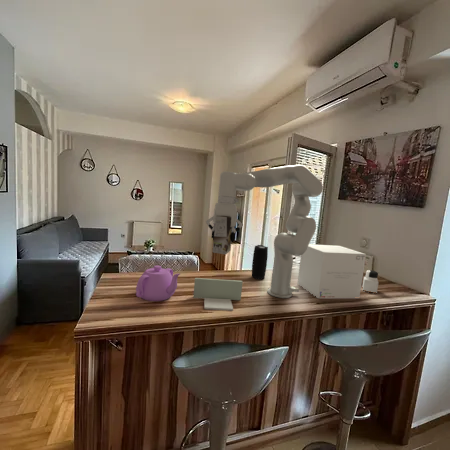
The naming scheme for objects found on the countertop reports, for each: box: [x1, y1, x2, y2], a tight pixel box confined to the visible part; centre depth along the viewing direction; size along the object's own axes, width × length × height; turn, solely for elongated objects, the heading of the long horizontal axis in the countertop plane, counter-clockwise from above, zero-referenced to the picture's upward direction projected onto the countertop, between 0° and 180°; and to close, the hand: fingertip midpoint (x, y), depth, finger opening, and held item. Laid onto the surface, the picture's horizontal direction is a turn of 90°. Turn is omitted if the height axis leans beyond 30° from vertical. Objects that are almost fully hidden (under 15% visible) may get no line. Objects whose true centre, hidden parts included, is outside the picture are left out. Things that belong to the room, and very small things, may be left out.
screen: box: [192, 277, 244, 301], centre depth 122 cm, size 22×1×9 cm, turn 95°
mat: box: [203, 298, 234, 311], centre depth 116 cm, size 12×10×1 cm
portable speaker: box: [251, 244, 269, 281], centre depth 160 cm, size 9×9×20 cm
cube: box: [296, 243, 367, 299], centre depth 147 cm, size 25×21×24 cm
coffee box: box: [212, 216, 233, 255], centre depth 116 cm, size 9×6×16 cm
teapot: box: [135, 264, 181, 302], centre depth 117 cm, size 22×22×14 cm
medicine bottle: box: [361, 269, 379, 294], centre depth 154 cm, size 7×7×12 cm
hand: (222, 240), depth 117 cm, fingers closed on coffee box, 7 cm apart
